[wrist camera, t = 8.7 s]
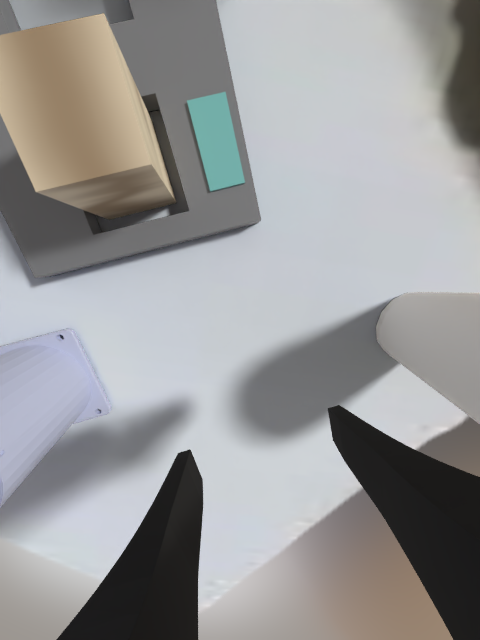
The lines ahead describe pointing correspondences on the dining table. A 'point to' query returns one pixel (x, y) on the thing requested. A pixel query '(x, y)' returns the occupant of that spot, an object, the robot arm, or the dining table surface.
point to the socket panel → (184, 136)
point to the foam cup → (437, 342)
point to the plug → (81, 119)
